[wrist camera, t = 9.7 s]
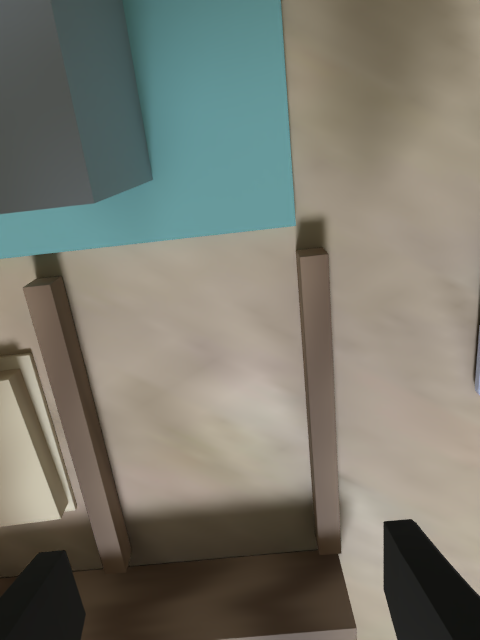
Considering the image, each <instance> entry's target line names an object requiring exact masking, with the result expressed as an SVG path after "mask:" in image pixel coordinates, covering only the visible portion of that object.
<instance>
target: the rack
mask: <svg viewBox="0 0 480 640" xmlns="http://www.w3.org/2000/svg"><path fill="white" fill-rule="evenodd" d="M296 259H297V273H298V288H299V303H300V317H301V332H302V347H303V361H304V376H305V391H306V406H307V420H308V435H309V450H310V464H311V479H312V494H313V508H314V523H315V536H316V541H317V546H318V550H314V551H302V552H291V553H280V554H268V555H257V556H246V557H234V558H223V559H212V560H201V561H189V562H178V563H167V564H155V565H144V566H133V567H128V564H129V560H130V556H131V552H132V550H131V546H130V542H129V538H128V534H127V530H126V526H125V522H124V518H123V515H122V511H121V507H120V503H119V499H118V495H117V491H116V487H115V483H114V479H113V475H112V471H111V467H110V463H109V460H108V456H107V452H106V448H105V444H104V440H103V436H102V432H101V428H100V424H99V420H98V416H97V412H96V409H95V405H94V401H93V397H92V393H91V389H90V385H89V381H88V377H87V373H86V369H85V365H84V361H83V358H82V354H81V350H80V346H79V342H78V338H77V334H76V330H75V326H74V322H73V318H72V314H71V310H70V307H69V303H68V299H67V295H66V291H65V287H64V283H63V279H62V276H57V277H48V278H39V279H35V280H34V281H32V282H31V283H29V284H27V285H26V286H24V287H23V291H24V294H25V298H26V301H27V305H28V308H29V312H30V315H31V319H32V322H33V326H34V329H35V333H36V336H37V339H38V343H39V346H40V350H41V353H42V357H43V360H44V364H45V367H46V371H47V374H48V378H49V381H50V385H51V388H52V391H53V395H54V398H55V402H56V405H57V409H58V412H59V416H60V419H61V423H62V426H63V430H64V433H65V437H66V440H67V443H68V447H69V450H70V454H71V457H72V461H73V464H74V468H75V471H76V475H77V478H78V482H79V485H80V489H81V492H82V495H83V499H84V502H85V506H86V509H87V513H88V516H89V520H90V523H91V527H92V530H93V534H94V537H95V541H96V544H97V547H98V551H99V554H100V558H101V561H102V565H103V568H104V569H99V570H87V571H76V572H73V576H74V579H75V582H76V585H77V588H78V591H79V594H80V597H81V600H82V604H83V607H84V610H85V613H86V616H85V621H84V626H83V631H82V636H81V640H357V628H356V624H355V620H354V616H353V612H352V608H351V604H350V600H349V596H348V592H347V588H346V584H345V580H344V576H343V572H342V568H341V564H340V560H339V556H338V554H340V553H341V536H340V513H339V490H338V466H337V443H336V420H335V397H334V373H333V350H332V327H331V304H330V280H329V257H328V253H327V252H326V251H325V250H324V249H323V247H321V248H312V249H303V250H296ZM16 579H17V577H8V578H0V597H1V596H2V595H3V594H4V592H5V591H6V590H7V589H8V588H9V587H10V585H11V584H12V583H13V582H14V581H15V580H16Z"/></svg>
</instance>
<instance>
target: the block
mask: <svg viewBox="0 0 480 640" xmlns="http://www.w3.org/2000/svg"><path fill="white" fill-rule="evenodd" d="M152 180H153V178H152V172H151V166H150V160H149V155H148V149H147V143H146V137H145V131H144V125H143V119H142V113H141V107H140V102H139V96H138V90H137V84H136V78H135V72H134V66H133V60H132V54H131V49H130V43H129V37H128V31H127V25H126V19H125V13H124V7H123V1H122V0H0V214H7V213H15V212H24V211H33V210H42V209H50V208H59V207H68V206H76V205H85V204H94V203H97V202H99V201H102V200H104V199H107V198H109V197H112V196H114V195H117V194H119V193H122V192H124V191H127V190H129V189H132V188H134V187H137V186H139V185H142V184H144V183H147V182H149V181H152Z"/></svg>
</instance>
